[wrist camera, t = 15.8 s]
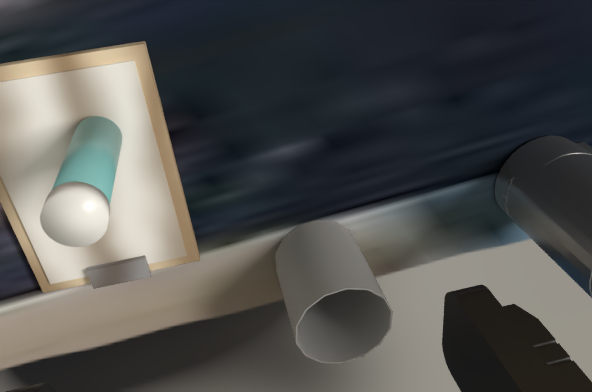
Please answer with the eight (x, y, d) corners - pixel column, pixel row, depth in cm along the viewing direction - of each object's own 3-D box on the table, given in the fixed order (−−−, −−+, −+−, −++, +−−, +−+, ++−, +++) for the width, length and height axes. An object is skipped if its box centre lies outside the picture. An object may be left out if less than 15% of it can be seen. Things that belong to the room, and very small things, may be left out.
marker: (116, 108, 40) (97, 188, 29) (129, 151, 42) (115, 240, 31) (68, 116, 39) (30, 200, 29) (83, 159, 41) (52, 252, 31)
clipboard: (144, 40, 39) (143, 47, 37) (199, 255, 49) (200, 266, 48) (-56, 72, 37) (-65, 80, 36) (45, 287, 48) (41, 299, 46)
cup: (274, 225, 49) (295, 295, 41) (358, 215, 51) (396, 280, 42) (276, 294, 54) (296, 370, 45) (354, 283, 55) (387, 355, 46)
